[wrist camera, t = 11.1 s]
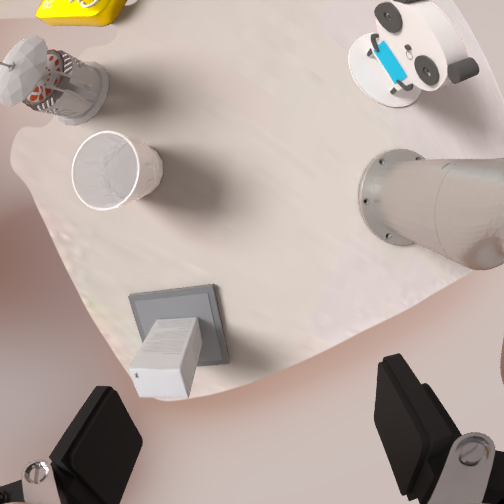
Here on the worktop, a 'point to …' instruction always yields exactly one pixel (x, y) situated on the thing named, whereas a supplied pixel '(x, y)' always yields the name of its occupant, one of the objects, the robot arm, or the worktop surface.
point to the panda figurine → (409, 53)
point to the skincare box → (167, 359)
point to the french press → (52, 82)
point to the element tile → (79, 12)
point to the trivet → (185, 316)
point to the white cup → (114, 170)
